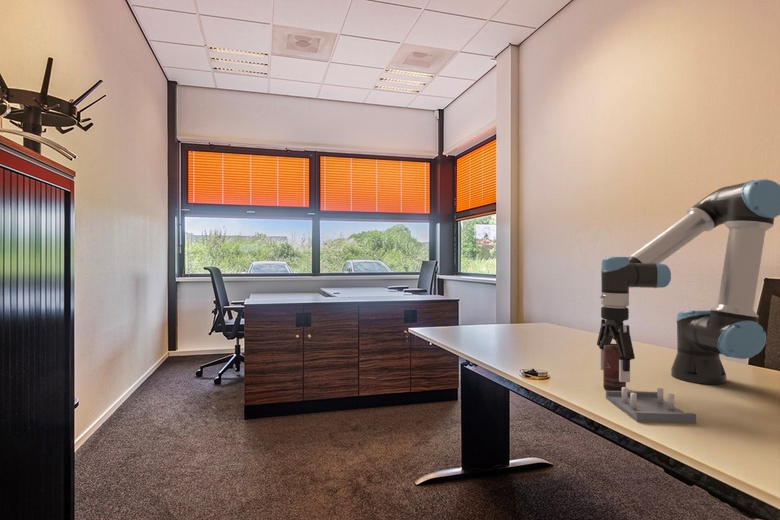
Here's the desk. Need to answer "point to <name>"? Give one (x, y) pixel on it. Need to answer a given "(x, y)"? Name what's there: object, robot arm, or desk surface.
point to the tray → (649, 406)
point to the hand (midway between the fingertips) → (614, 375)
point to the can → (611, 368)
